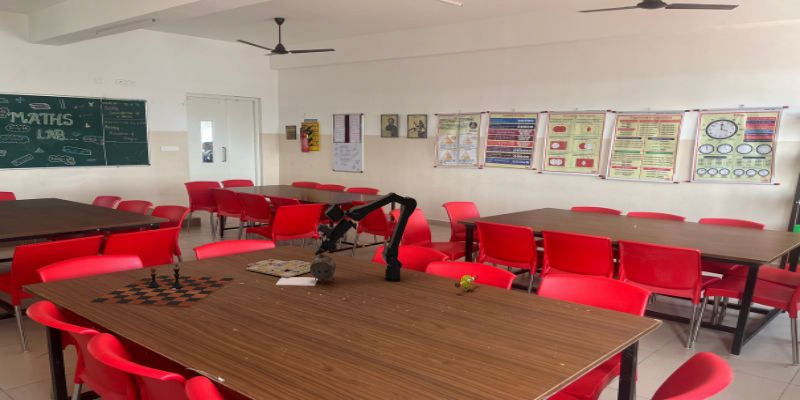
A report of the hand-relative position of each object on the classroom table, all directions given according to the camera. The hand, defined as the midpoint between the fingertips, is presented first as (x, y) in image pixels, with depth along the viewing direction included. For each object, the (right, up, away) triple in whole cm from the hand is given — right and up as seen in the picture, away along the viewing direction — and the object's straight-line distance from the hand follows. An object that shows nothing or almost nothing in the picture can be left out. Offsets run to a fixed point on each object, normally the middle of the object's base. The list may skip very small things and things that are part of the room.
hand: (315, 254), depth 225 cm
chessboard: (-59, -14, -13) cm, 62 cm away
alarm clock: (+4, -12, +4) cm, 13 cm away
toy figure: (+67, -15, -5) cm, 68 cm away
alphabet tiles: (-21, -10, +27) cm, 36 cm away
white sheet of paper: (-8, -13, +3) cm, 16 cm away
